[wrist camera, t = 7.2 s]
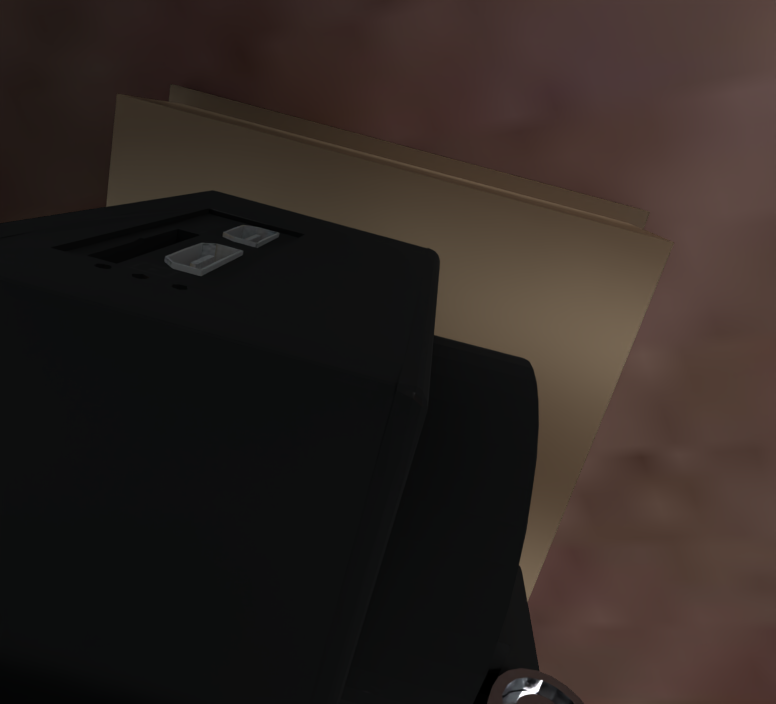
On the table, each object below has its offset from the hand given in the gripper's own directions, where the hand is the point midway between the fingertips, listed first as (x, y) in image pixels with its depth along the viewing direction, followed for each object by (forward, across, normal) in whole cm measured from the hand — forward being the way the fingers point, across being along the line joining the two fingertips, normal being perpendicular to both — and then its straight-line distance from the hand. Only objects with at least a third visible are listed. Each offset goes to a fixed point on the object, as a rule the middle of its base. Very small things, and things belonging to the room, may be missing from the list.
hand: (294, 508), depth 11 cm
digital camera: (+2, 0, 0) cm, 2 cm away
